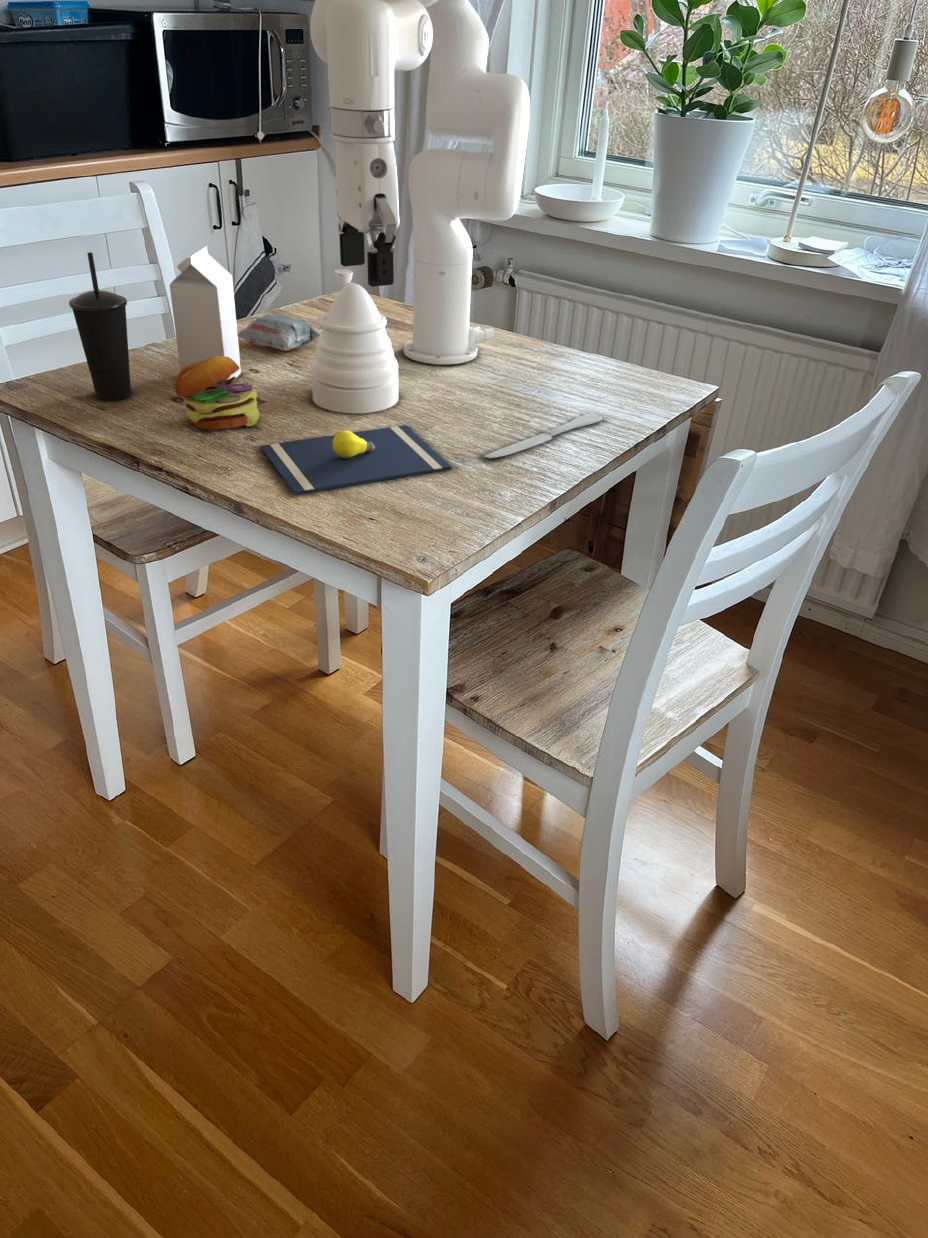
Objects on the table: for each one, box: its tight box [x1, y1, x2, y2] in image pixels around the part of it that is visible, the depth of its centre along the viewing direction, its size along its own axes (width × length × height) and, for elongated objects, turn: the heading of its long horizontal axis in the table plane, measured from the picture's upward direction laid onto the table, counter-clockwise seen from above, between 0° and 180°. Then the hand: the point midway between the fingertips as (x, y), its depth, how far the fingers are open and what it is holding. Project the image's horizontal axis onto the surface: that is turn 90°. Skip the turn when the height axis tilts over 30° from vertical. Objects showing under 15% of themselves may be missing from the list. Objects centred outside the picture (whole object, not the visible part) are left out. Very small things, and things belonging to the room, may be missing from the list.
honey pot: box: [310, 268, 399, 414], centre depth 137 cm, size 13×13×18 cm
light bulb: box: [332, 430, 375, 458], centre depth 123 cm, size 3×6×4 cm, turn 123°
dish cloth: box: [259, 424, 452, 496], centre depth 123 cm, size 21×15×1 cm
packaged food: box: [237, 314, 321, 352], centre depth 159 cm, size 9×12×5 cm
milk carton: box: [169, 245, 242, 380], centre depth 141 cm, size 7×7×19 cm
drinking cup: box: [68, 251, 132, 402], centre depth 133 cm, size 8×8×20 cm
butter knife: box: [483, 412, 603, 459], centre depth 132 cm, size 1×24×3 cm
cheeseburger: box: [174, 356, 260, 431], centre depth 130 cm, size 10×11×10 cm
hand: (366, 274), depth 120 cm, fingers open, 9 cm apart
